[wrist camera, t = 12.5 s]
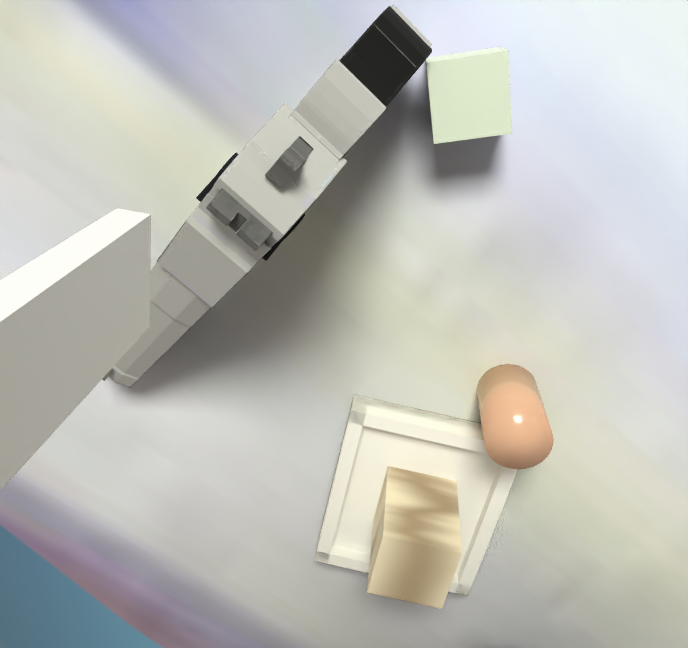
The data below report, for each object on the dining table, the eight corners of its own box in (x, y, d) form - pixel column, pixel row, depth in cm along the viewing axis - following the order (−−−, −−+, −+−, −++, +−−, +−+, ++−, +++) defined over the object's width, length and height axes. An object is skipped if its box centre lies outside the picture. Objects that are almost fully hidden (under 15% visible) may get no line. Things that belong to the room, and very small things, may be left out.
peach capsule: (545, 372, 44) (563, 422, 38) (526, 420, 46) (540, 475, 40) (486, 358, 44) (496, 406, 39) (469, 407, 46) (476, 460, 40)
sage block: (499, 46, 36) (508, 50, 32) (502, 122, 38) (511, 133, 34) (425, 58, 37) (426, 62, 33) (432, 131, 38) (433, 144, 35)
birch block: (456, 480, 47) (461, 552, 41) (439, 532, 49) (442, 608, 43) (387, 465, 47) (383, 535, 41) (373, 518, 49) (366, 592, 43)
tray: (521, 432, 46) (525, 449, 44) (466, 575, 52) (467, 595, 50) (354, 394, 46) (351, 410, 44) (318, 541, 52) (314, 560, 50)
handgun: (473, 17, 32) (338, 197, 23) (239, 260, 53) (123, 401, 44) (413, -46, 31) (248, 114, 22) (200, 226, 52) (74, 363, 43)
